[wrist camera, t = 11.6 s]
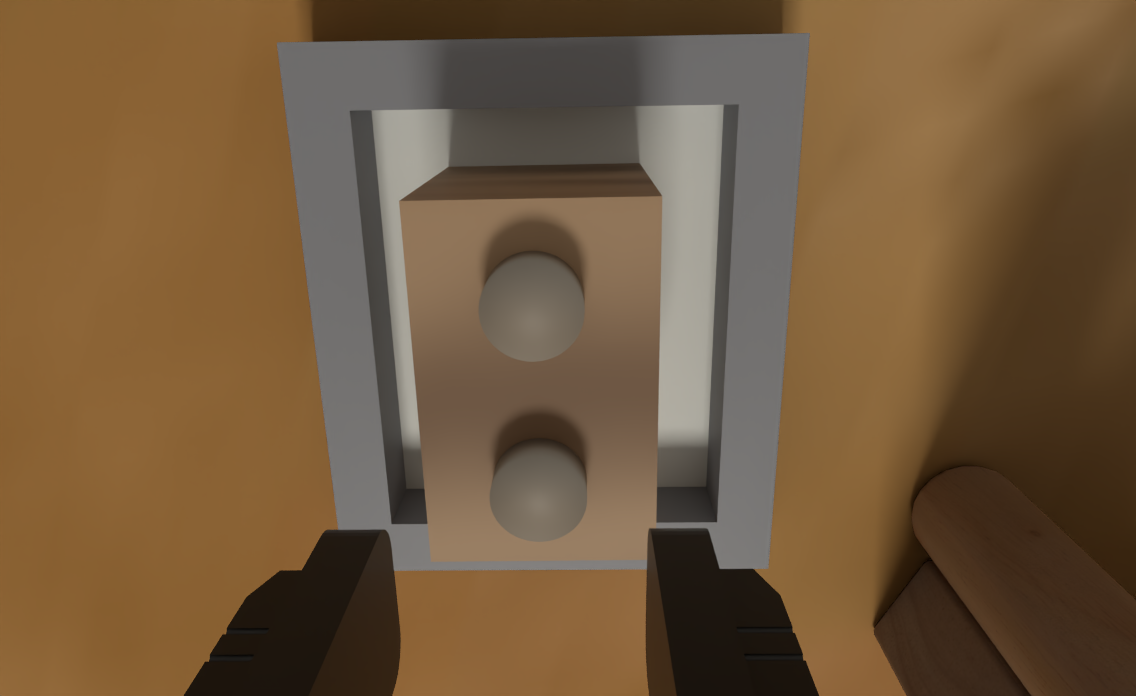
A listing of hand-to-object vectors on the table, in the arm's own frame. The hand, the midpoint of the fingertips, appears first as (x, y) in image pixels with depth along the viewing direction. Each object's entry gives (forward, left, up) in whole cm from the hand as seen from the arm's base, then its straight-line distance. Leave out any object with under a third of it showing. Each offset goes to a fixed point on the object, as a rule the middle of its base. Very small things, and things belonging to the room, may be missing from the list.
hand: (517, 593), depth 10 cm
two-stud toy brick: (0, 0, -13) cm, 13 cm away
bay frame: (0, 0, -13) cm, 13 cm away
